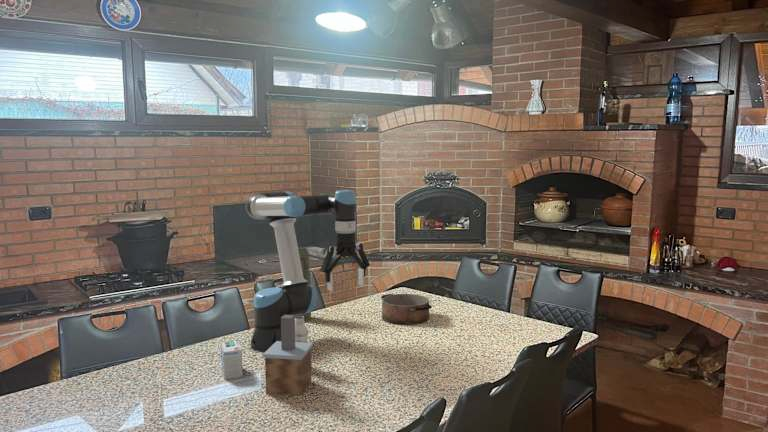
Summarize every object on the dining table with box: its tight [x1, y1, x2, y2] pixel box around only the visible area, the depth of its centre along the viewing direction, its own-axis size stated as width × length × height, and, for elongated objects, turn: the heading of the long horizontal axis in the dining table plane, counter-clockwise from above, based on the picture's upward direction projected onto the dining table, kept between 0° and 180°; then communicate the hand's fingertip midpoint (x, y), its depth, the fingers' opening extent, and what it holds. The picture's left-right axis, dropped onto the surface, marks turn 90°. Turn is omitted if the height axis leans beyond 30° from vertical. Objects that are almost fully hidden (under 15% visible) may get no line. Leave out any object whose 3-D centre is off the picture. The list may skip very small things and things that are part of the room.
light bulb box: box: [220, 340, 244, 380], centre depth 204 cm, size 11×7×11 cm, turn 21°
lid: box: [262, 315, 314, 360], centre depth 189 cm, size 13×13×13 cm
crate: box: [264, 348, 312, 396], centre depth 190 cm, size 12×12×14 cm
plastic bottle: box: [295, 316, 309, 343], centre depth 208 cm, size 6×7×20 cm
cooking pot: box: [380, 293, 433, 326], centre depth 269 cm, size 30×22×11 cm
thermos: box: [295, 247, 312, 322], centre depth 269 cm, size 9×12×35 cm
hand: (345, 288), depth 212 cm, fingers open, 13 cm apart
